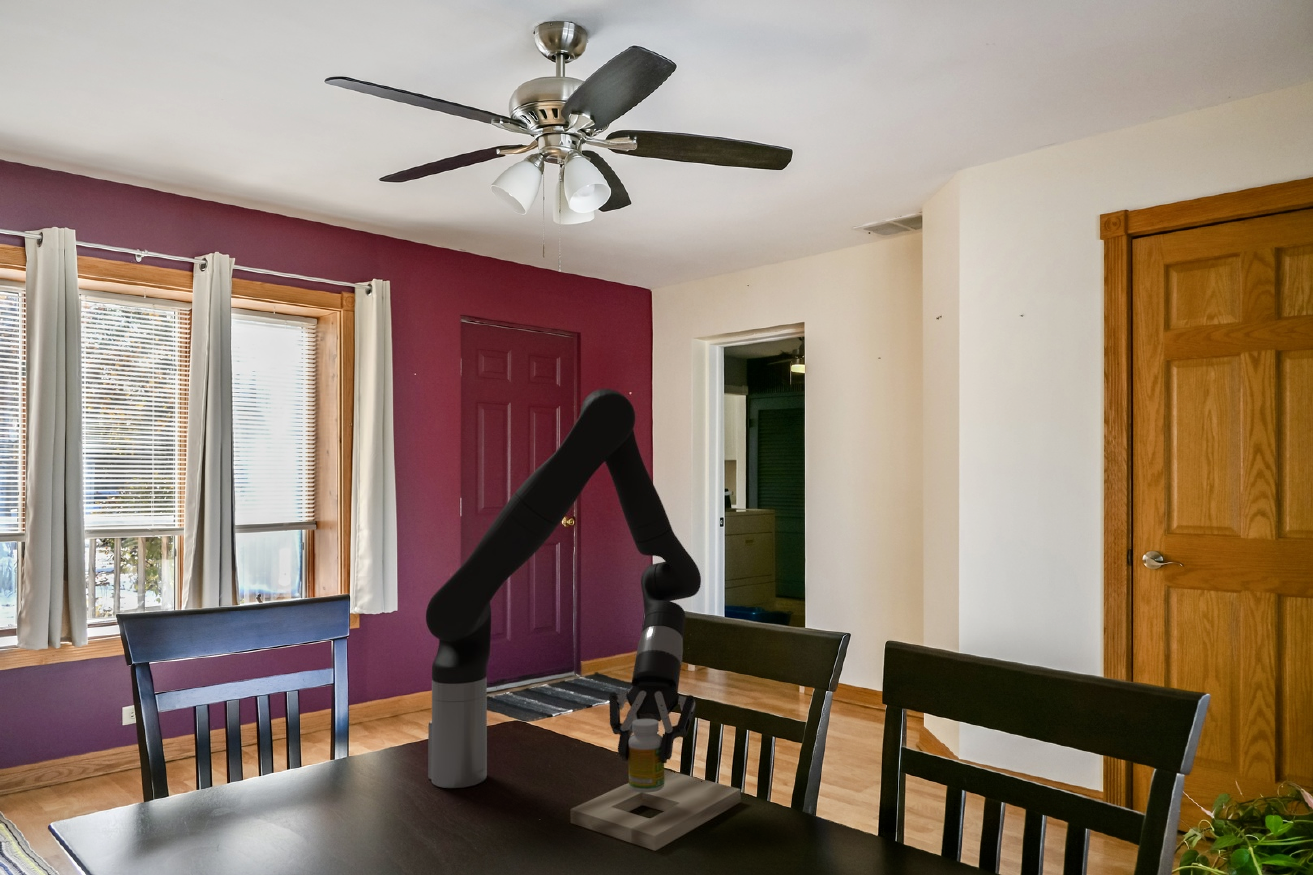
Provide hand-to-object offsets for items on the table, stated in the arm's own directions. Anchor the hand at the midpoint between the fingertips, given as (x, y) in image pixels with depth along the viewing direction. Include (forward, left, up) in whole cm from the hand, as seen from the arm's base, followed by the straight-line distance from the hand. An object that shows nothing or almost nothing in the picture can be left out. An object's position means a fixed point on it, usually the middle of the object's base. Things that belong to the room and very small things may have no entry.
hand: (643, 759), depth 128 cm
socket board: (-1, +5, -9) cm, 10 cm away
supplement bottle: (-1, +2, -5) cm, 5 cm away
